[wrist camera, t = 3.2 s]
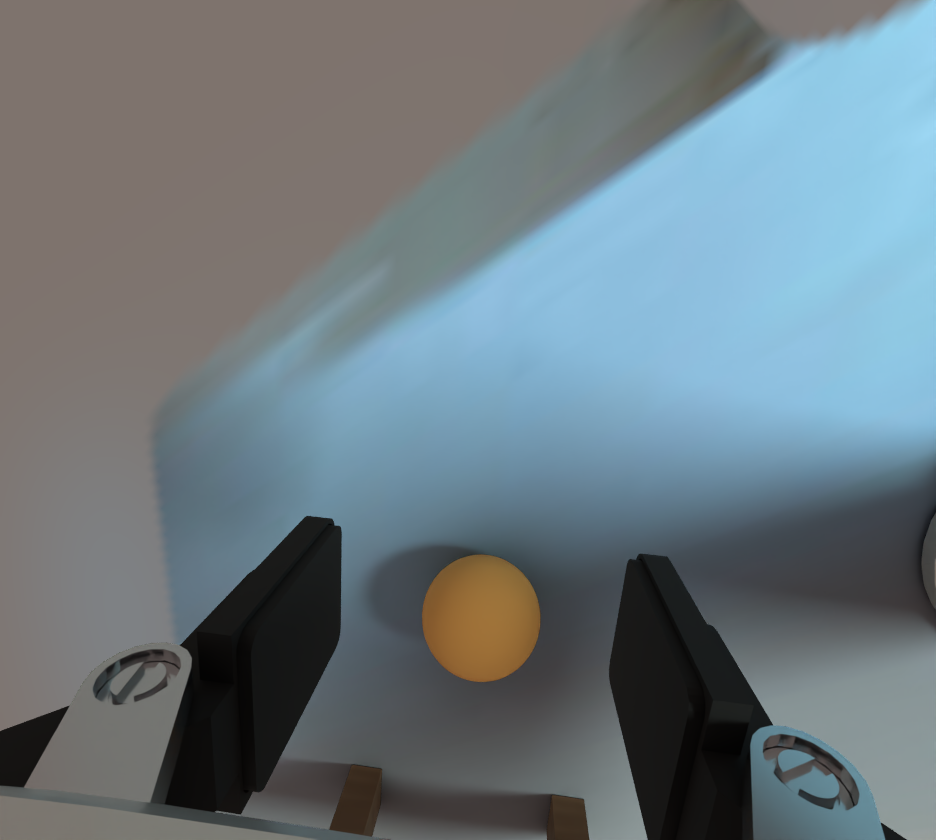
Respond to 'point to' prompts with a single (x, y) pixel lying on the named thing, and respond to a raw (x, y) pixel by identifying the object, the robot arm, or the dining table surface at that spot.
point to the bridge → (365, 800)
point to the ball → (481, 618)
